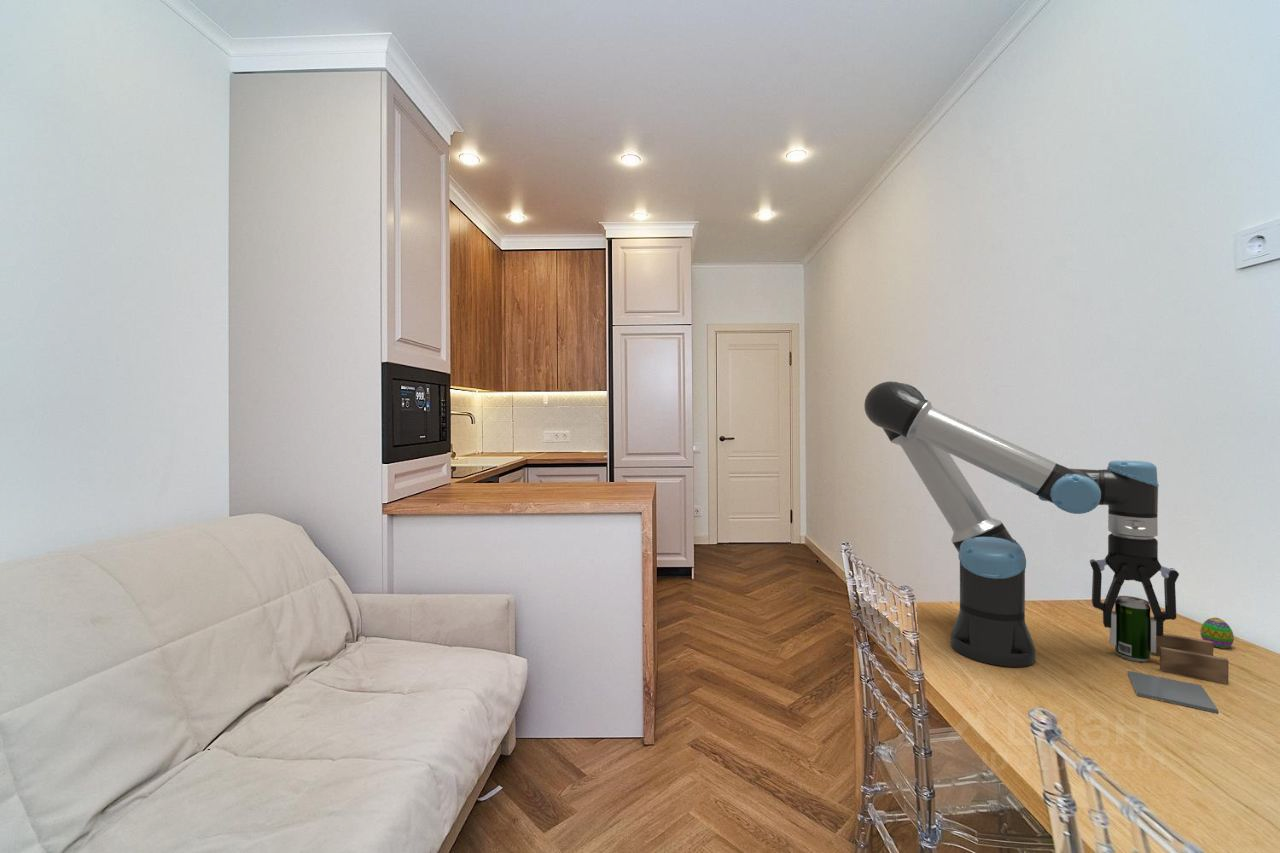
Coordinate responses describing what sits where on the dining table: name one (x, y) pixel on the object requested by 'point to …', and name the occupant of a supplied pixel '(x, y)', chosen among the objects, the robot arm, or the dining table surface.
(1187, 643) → the rack
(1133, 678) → the coaster
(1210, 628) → the egg
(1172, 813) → the dining table surface
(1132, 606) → the beer can
